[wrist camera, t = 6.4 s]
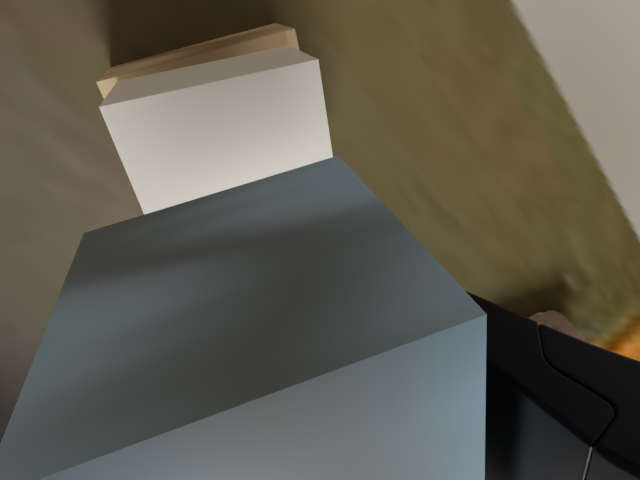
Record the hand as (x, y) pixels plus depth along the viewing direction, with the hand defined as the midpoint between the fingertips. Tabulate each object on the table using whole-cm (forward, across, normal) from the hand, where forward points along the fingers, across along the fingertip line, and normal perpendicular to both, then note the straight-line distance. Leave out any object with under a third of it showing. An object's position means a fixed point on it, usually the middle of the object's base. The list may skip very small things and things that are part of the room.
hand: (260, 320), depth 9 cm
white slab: (+10, 0, 0) cm, 10 cm away
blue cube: (+1, 0, 0) cm, 1 cm away
